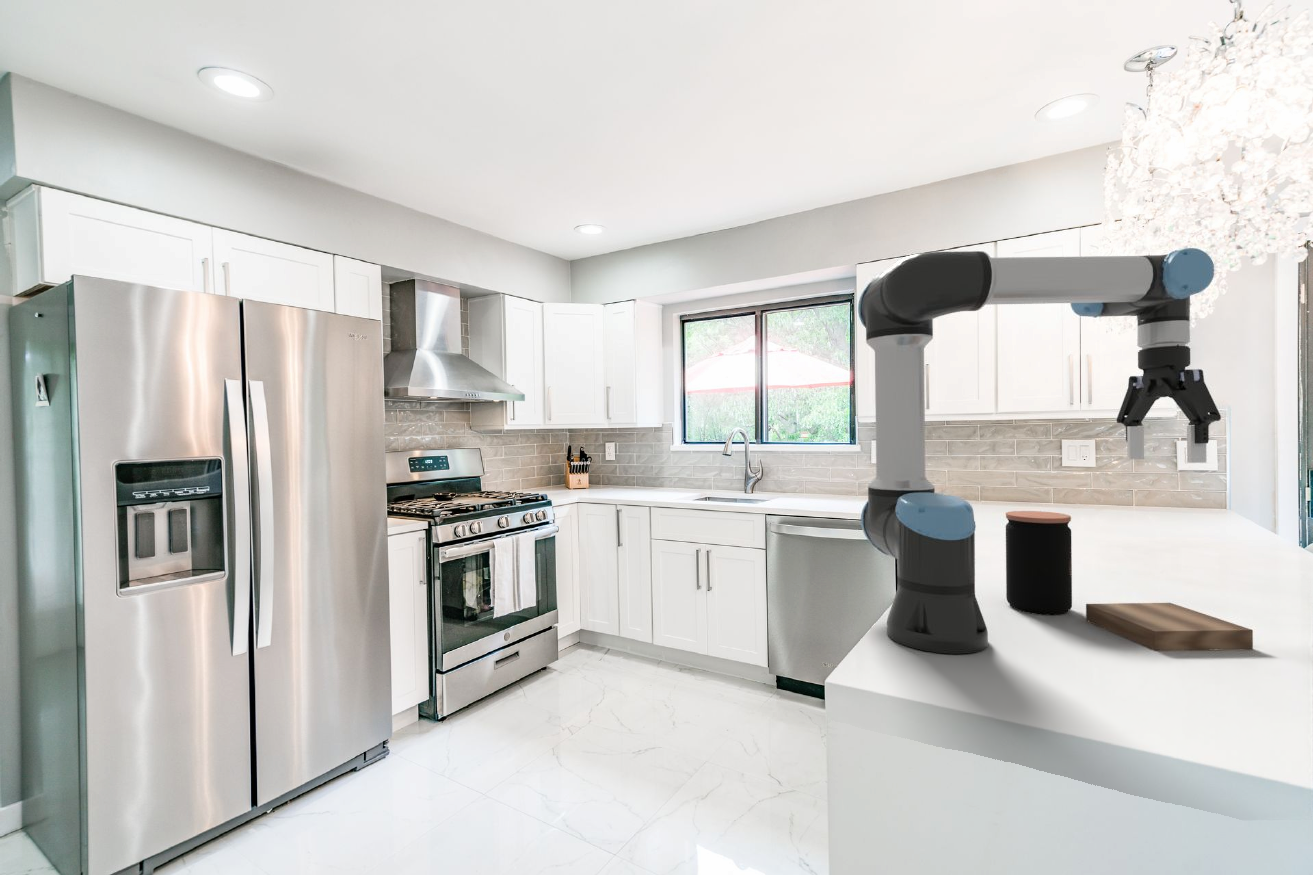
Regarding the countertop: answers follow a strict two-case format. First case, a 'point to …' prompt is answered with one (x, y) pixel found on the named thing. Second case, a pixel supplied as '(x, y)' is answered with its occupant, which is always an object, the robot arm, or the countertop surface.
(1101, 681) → the countertop surface
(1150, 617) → the walnut riser
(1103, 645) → the countertop surface
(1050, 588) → the coffee jar
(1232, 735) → the countertop surface
